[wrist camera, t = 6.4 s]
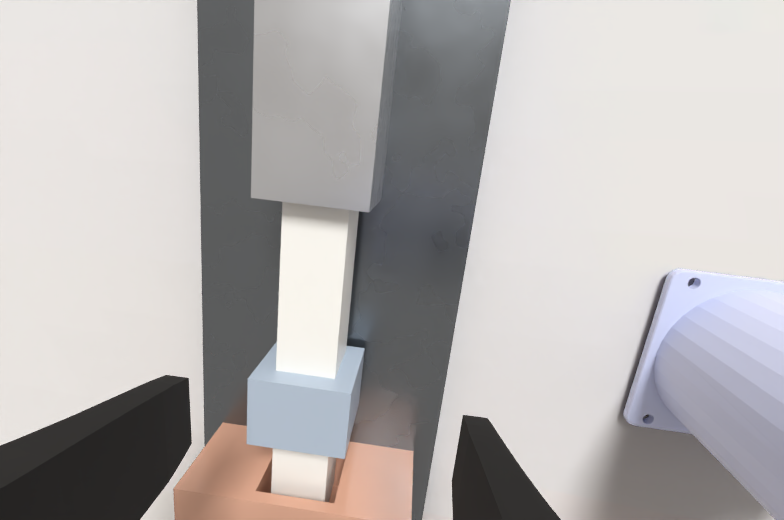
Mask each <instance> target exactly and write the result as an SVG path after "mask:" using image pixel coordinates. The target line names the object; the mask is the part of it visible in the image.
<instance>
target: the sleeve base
mask: <svg viewBox="0 0 784 520" xmlns="http://www.w3.org/2000/svg"><path fill="white" fill-rule="evenodd" d="M510 1H511V0H197V12H198V73H199V133H200V193H201V253H202V313H203V374H204V434H205V446H206V444H207V443H208V442H209V440H210V439H211V438H212V436H213V435H214V434H215V432H216V431H217V430H218V428H219V427H220V426H221V424H222V423H230V424H237V425H243V426H247V392H248V378H249V376H250V375H251V374H252V373H253V371H254V370H255V369H256V367H257V366H258V365H259V364H260V362H261V361H262V360H263V358H264V357H265V356H266V355H267V353H268V352H269V351H270V349H271V348H272V347H273V346H274V344H275V343H276V342H277V328H278V302H279V277H280V251H281V226H282V202H289V203H297V204H305V205H313V206H321V207H329V208H337V209H345V210H353V211H359V216H358V227H357V238H356V249H355V260H354V270H353V281H352V292H351V303H350V314H349V325H348V336H347V346H352V347H359V348H365V350H364V360H363V369H362V379H361V388H360V398H359V405H358V409H357V413H356V417H355V421H354V425H353V429H352V433H351V437H350V440H349V441H350V442H356V443H363V444H370V445H376V446H383V447H390V448H396V449H403V450H409V451H413V485H412V519H411V520H422V515H423V509H424V503H425V498H426V492H427V486H428V480H429V474H430V468H431V463H432V457H433V451H434V445H435V439H436V433H437V428H438V422H439V416H440V410H441V404H442V398H443V393H444V387H445V381H446V375H447V369H448V363H449V358H450V352H451V346H452V340H453V334H454V328H455V323H456V317H457V311H458V305H459V299H460V293H461V287H462V282H463V276H464V270H465V264H466V258H467V252H468V247H469V241H470V235H471V229H472V223H473V217H474V212H475V206H476V200H477V194H478V188H479V182H480V177H481V171H482V165H483V159H484V153H485V147H486V142H487V136H488V130H489V124H490V118H491V112H492V106H493V101H494V95H495V89H496V83H497V77H498V71H499V66H500V60H501V54H502V48H503V42H504V36H505V31H506V25H507V19H508V13H509V7H510Z"/></svg>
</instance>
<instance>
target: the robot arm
mask: <svg viewBox="0 0 784 520" xmlns="http://www.w3.org/2000/svg"><path fill="white" fill-rule="evenodd" d="M692 278H695V281H694V283H693V284H692V285H690V286H688V282H689V280H690V279H692ZM623 415H624V418H625V419H626V420H627V422H628V423H629V424H631V425H634V426H640V427H646V428H653V429H660V430H667V431H674V432H681V433H688V434H693V435H694V436H695V437H696V438H697V439H698V440H699V441H700V442H701V443H702V444H703V445H704V446H705V448H706V449H707V450H708V451H709V452H710V453H711V454H712V455H713V456H714V457H715V458H716V459H717V460H718V461H719V462H720V463H721V464H722V465H723V466H724V467H725V468H726V469H727V470H728V471H729V472H730V473H731V474H732V475H733V476H734V477H735V478H736V480H737V481H738V482H739V483H740V484H741V485H742V486H743V487H744V488H745V489H746V490H747V491H748V492H749V493H750V494H751V495H752V496H753V497H754V498H755V499H756V500H757V501H758V502H759V503H760V504H761V505H762V506H763V507H764V508H765V509H766V510H767V511H768V513H769V514H770V515H771V516H772V517H773V518H774V519H775V520H784V282H782V281H774V280H766V279H758V278H750V277H743V276H735V275H727V274H719V273H711V272H703V271H695V270H688V269H675V270H673V271H671V272H670V273H669V274H668V275H667V277H666V280H665V283H664V286H663V289H662V293H661V296H660V299H659V302H658V305H657V308H656V311H655V315H654V318H653V321H652V324H651V327H650V330H649V334H648V337H647V340H646V343H645V346H644V349H643V352H642V356H641V359H640V362H639V365H638V368H637V371H636V375H635V378H634V381H633V384H632V387H631V390H630V393H629V397H628V400H627V403H626V406H625V409H624V414H623ZM645 415H649V416H648V417H647V418H644V419H643V417H644V416H645ZM191 444H192V442H191V421H190V399H189V378H184V377H176V376H169V375H165V376H163V377H160V378H157V379H155V380H152V381H150V382H147V383H145V384H143V385H140V386H138V387H136V388H134V389H131V390H129V391H127V392H125V393H122V394H120V395H118V396H116V397H114V398H111V399H109V400H107V401H105V402H102V403H100V404H98V405H96V406H94V407H91V408H89V409H87V410H85V411H82V412H80V413H78V414H76V415H73V416H71V417H69V418H66V419H64V420H62V421H59V422H57V423H54V424H52V425H50V426H47V427H45V428H42V429H40V430H38V431H35V432H33V433H31V434H28V435H26V436H23V437H21V438H19V439H16V440H14V441H11V442H8V443H6V444H3V445H1V446H0V520H140V519H141V517H142V516H143V515H144V514H145V512H146V511H147V510H148V508H149V507H150V506H151V504H152V503H153V502H154V500H155V499H156V498H157V497H158V495H159V494H160V493H161V491H162V490H163V489H164V487H165V486H166V485H167V483H168V482H169V480H170V479H171V477H172V476H173V474H174V472H175V471H176V469H177V468H178V466H179V464H180V463H181V461H182V459H183V457H184V456H185V454H186V452H187V451H188V449H189V447H190V445H191ZM452 502H453V520H561V519H560V518H559V517H558V516H557V514H556V513H555V512H554V511H553V510H552V508H551V507H550V506H549V505H548V503H547V502H546V501H545V499H544V498H543V497H542V495H541V494H540V493H539V492H538V490H537V489H536V487H535V486H534V485H533V483H532V482H531V481H530V479H529V478H528V477H527V475H526V474H525V472H524V471H523V470H522V468H521V467H520V465H519V464H518V463H517V461H516V460H515V458H514V457H513V455H512V454H511V452H510V451H509V450H508V448H507V447H506V445H505V444H504V442H503V441H502V439H501V437H500V436H499V434H498V433H497V431H496V430H495V428H494V427H493V425H492V424H491V422H490V421H489V420H488V418H482V417H474V416H467V415H463V419H462V425H461V431H460V437H459V442H458V448H457V454H456V460H455V466H454V472H453V478H452Z"/></svg>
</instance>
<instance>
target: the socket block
mask: <svg viewBox="0 0 784 520" xmlns="http://www.w3.org/2000/svg"><path fill="white" fill-rule="evenodd" d="M272 456H273V448H269V447H262V446H255V445H249V444H247V426H243V425H237V424H230V423H222V424H221V426H220V427H219V428H218V430H217V431H216V432H215V434H214V435H213V436H212V438H211V439H210V440H209V442H208V443H207V444H206V446H205V447H204V448H203V450H202V451H201V452H200V454H199V455H198V457H197V458H196V459H195V461H194V462H193V463H192V465H191V466H190V467H189V469H188V470H187V471H186V473H185V474H184V475H183V477H182V478H181V479H180V481H179V482H178V483H177V485H176V486H175V487H174V511H175V520H411V519H412V485H413V451H409V450H403V449H396V448H390V447H383V446H376V445H370V444H363V443H356V442H350V441H349V444H348V448H347V452H346V456H345V459H341V458H336V466H335V477H334V484H333V488H332V492H331V495H330V499H329V502H323V501H316V500H310V499H304V498H297V497H291V496H285V495H278V494H272V493H271V481H272Z"/></svg>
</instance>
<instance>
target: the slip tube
mask: <svg viewBox="0 0 784 520" xmlns="http://www.w3.org/2000/svg"><path fill="white" fill-rule="evenodd" d="M358 216H359V211H353V210H345V209H337V208H329V207H321V206H313V205H305V204H297V203H289V202H282V226H281V251H280V277H279V302H278V328H277V342H276V343H275V344H274V346H273V347H272V348H271V349H270V351H269V352H268V353H267V355H266V356H265V357H264V358H263V360H262V361H261V362H260V364H259V365H258V366H257V367H256V369H255V370H254V371H253V373H252V374H251V375H250V376H249V378H248V392H247V444H249V445H255V446H262V447H269V448H273V456H272V481H271V493H272V494H278V495H285V496H291V497H297V498H304V499H310V500H316V501H323V502H329V499H330V495H331V492H332V488H333V484H334V477H335V466H336V458H341V459H345V456H346V452H347V448H348V444H349V440H350V437H351V433H352V429H353V425H354V421H355V417H356V413H357V409H358V405H359V398H360V388H361V379H362V369H363V360H364V350H365V348H359V347H352V346H347V336H348V325H349V314H350V303H351V292H352V281H353V270H354V260H355V249H356V238H357V227H358Z"/></svg>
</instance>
